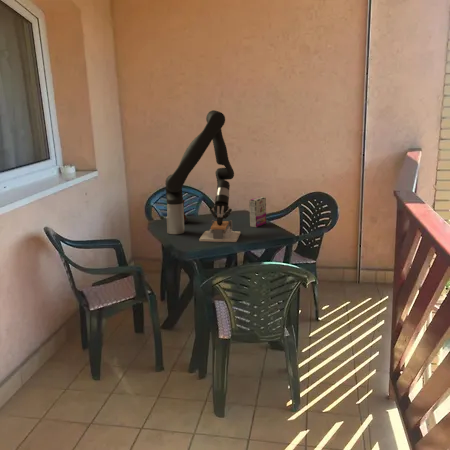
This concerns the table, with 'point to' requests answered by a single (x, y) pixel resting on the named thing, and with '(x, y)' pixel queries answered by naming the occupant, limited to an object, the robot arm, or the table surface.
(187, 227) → the table surface
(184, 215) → the mug
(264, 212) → the candy bar box
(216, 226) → the brown flat panel
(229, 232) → the heatsink board
